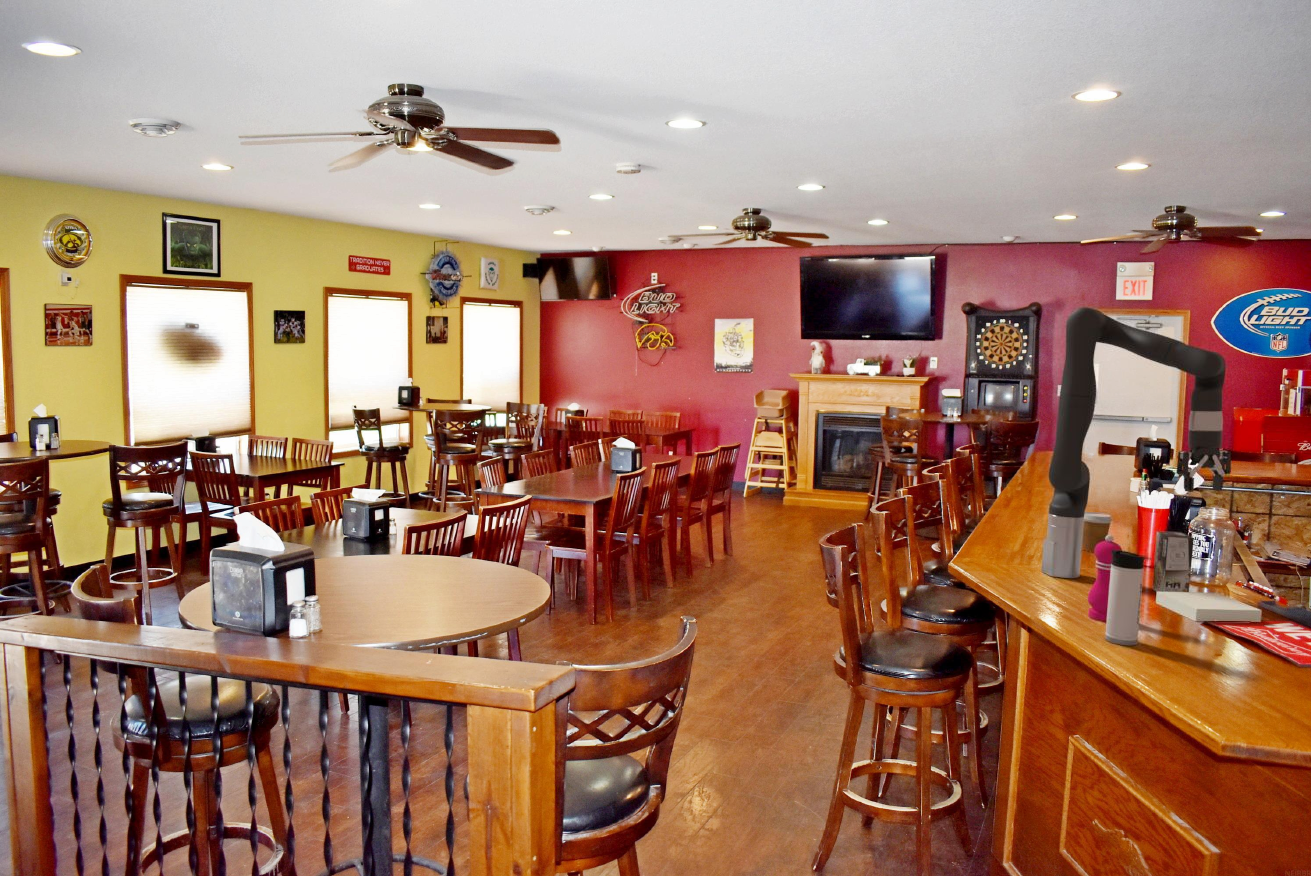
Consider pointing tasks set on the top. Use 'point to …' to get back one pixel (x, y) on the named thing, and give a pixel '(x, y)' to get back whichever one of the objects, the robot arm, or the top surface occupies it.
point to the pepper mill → (1102, 579)
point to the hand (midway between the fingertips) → (1203, 491)
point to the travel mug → (1124, 598)
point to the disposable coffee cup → (1095, 529)
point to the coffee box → (1172, 562)
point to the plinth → (1208, 606)
